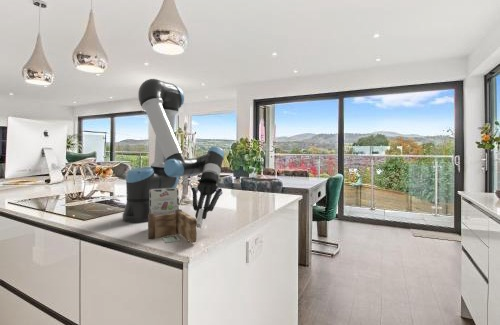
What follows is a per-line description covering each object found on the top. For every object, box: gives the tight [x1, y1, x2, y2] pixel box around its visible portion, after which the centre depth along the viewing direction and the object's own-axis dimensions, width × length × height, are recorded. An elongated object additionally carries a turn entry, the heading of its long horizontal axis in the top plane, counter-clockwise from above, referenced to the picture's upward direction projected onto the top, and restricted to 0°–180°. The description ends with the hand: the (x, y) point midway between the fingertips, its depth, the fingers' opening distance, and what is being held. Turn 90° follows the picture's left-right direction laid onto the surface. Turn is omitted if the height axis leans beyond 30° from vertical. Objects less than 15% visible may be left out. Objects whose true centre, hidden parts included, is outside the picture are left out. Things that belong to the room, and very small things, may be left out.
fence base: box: [147, 208, 183, 241], centre depth 104 cm, size 13×2×9 cm, turn 129°
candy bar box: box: [149, 187, 180, 216], centre depth 113 cm, size 11×5×16 cm, turn 114°
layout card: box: [161, 234, 181, 244], centre depth 100 cm, size 6×5×1 cm
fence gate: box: [177, 210, 197, 244], centre depth 100 cm, size 14×2×8 cm, turn 33°
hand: (198, 225), depth 104 cm, fingers closed
